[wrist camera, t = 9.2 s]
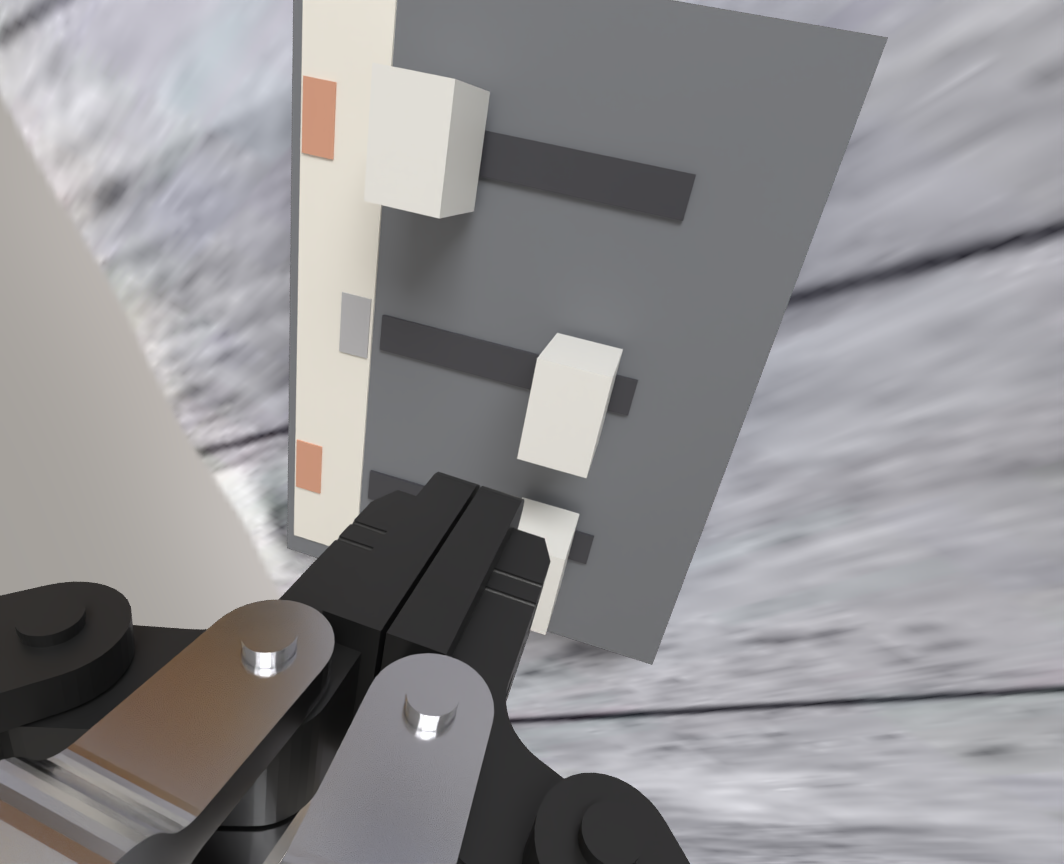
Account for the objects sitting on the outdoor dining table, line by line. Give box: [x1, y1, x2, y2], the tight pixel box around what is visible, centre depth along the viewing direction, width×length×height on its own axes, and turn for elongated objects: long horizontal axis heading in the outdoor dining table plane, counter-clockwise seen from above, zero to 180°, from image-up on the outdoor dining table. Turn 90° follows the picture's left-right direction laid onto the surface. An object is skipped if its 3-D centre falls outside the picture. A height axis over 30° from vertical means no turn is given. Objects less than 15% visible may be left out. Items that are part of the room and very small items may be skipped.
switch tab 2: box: [517, 333, 623, 478], centre depth 21 cm, size 2×4×3 cm, turn 168°
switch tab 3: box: [518, 497, 579, 635], centre depth 24 cm, size 2×4×3 cm, turn 168°
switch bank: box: [287, 0, 888, 665], centre depth 25 cm, size 18×24×4 cm
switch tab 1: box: [364, 62, 490, 218], centre depth 19 cm, size 2×4×3 cm, turn 168°
